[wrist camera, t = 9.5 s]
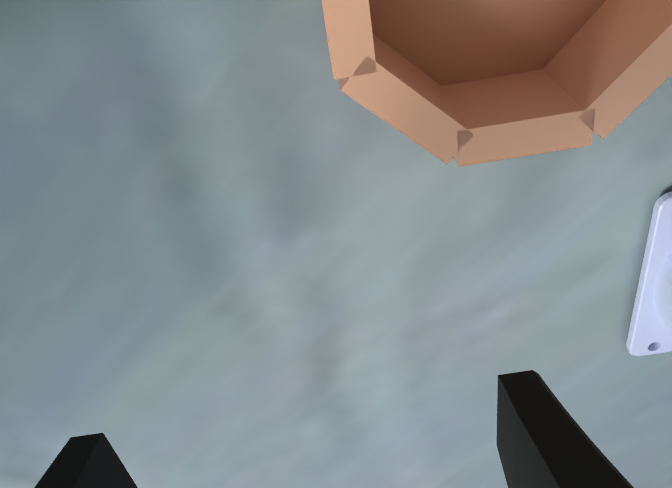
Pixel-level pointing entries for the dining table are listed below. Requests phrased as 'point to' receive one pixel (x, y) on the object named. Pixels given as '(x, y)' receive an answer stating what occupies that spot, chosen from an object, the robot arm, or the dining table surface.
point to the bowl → (499, 69)
